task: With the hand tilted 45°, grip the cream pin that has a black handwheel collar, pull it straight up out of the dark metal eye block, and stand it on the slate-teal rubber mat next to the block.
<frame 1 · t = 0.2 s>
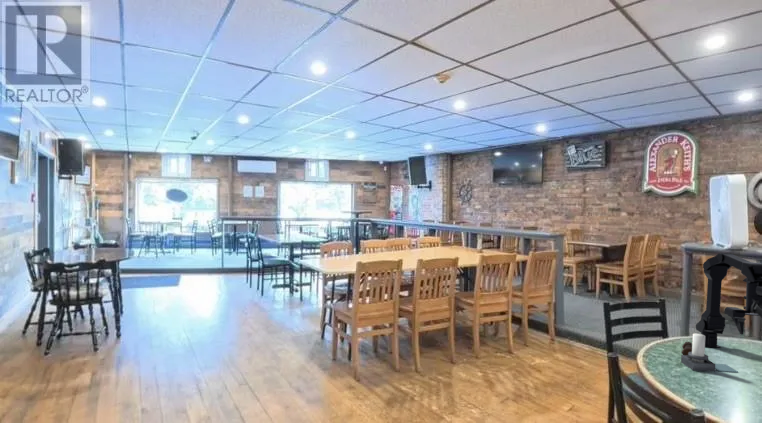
hand: (754, 335, 163), 14 cm above the table, tool pointing down, fingers open, 9 cm apart
eye block: (697, 366, 167), on the table
mat: (722, 368, 166), on the table
bolt: (689, 355, 181), on the table
pin: (697, 366, 168), resting in eye block
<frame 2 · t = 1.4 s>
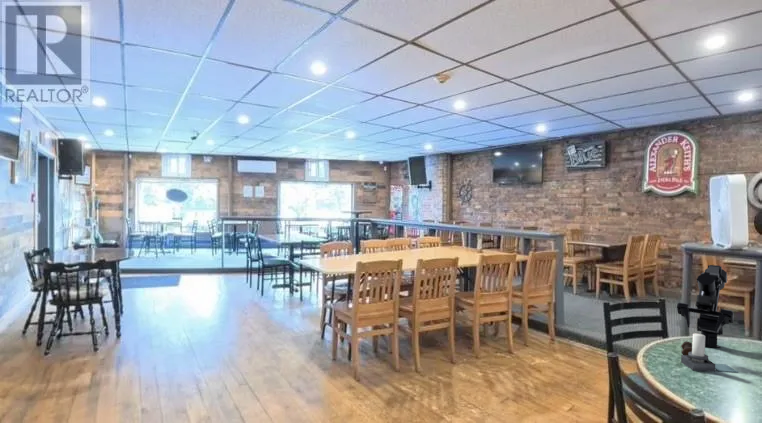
hand: (701, 329, 172), 13 cm above the table, tool tilted 45°, fingers open, 9 cm apart
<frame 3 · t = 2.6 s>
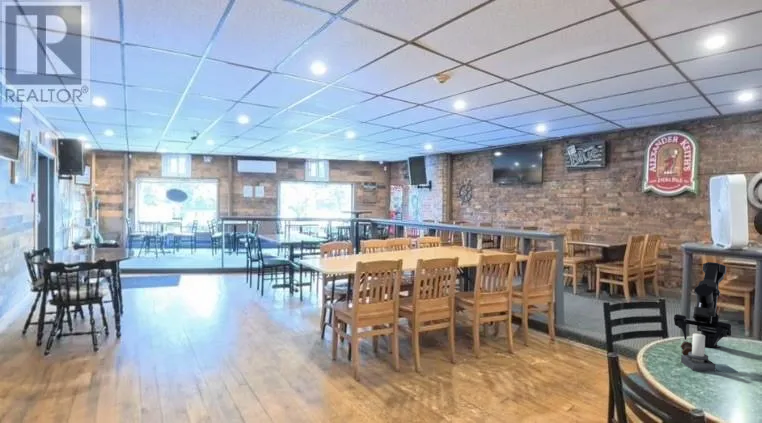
hand: (699, 342, 168), 10 cm above the table, tool tilted 45°, fingers open, 9 cm apart
nothing on the table moved.
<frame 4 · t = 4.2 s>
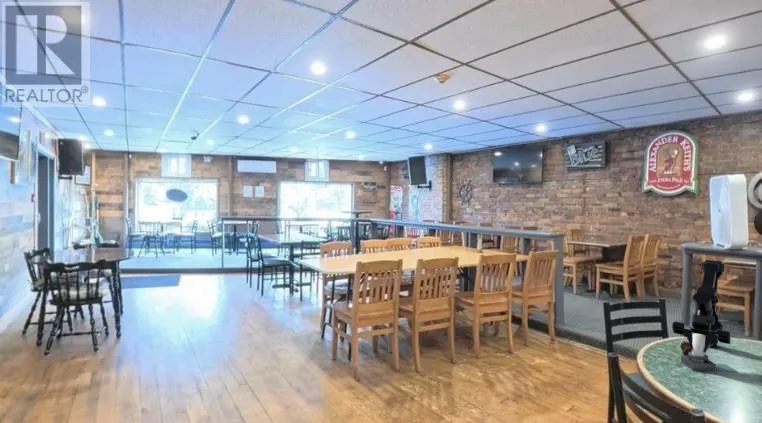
hand: (697, 350, 166), 7 cm above the table, tool tilted 45°, fingers closed on pin, 4 cm apart
pin: (697, 366, 167), resting in eye block, touching gripper
everything else where it was.
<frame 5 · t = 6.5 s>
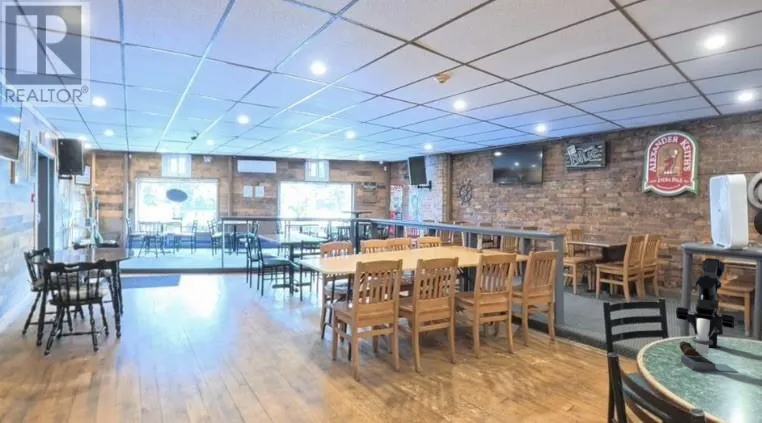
hand: (702, 335, 166), 13 cm above the table, tool tilted 45°, fingers closed on pin, 4 cm apart
pin: (702, 351, 167), point 6 cm above the table, touching gripper
when the fingers open (8 cm above the table, at t = 8.8 s): pin stays where it is, resting on mat.
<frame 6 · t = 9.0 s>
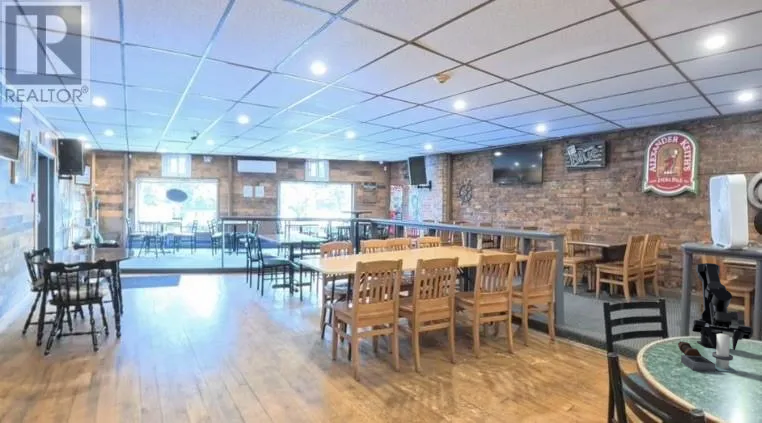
hand: (723, 348, 165), 9 cm above the table, tool tilted 45°, fingers open, 6 cm apart
pin: (722, 367, 166), resting on mat
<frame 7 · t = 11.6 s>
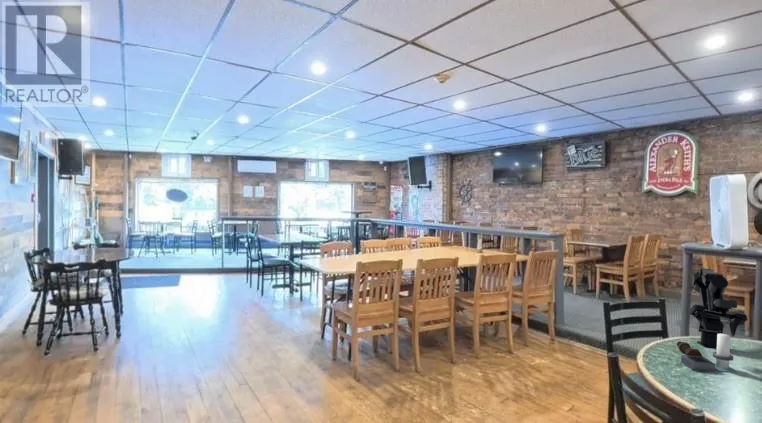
hand: (719, 333, 173), 12 cm above the table, tool tilted 40°, fingers open, 9 cm apart
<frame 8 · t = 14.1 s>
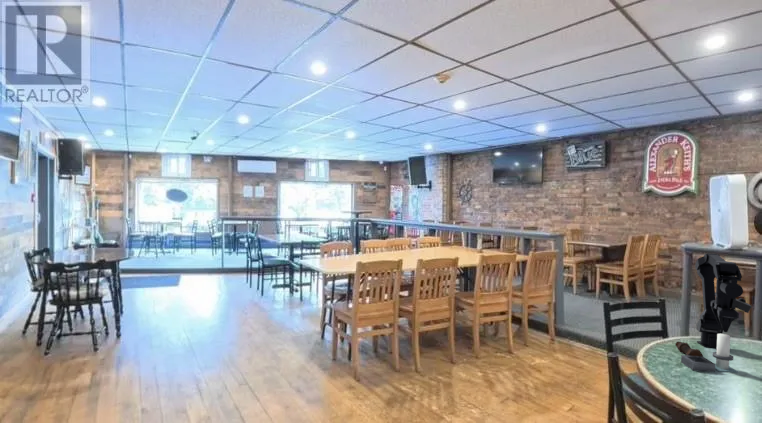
hand: (723, 328, 175), 13 cm above the table, tool pointing down, fingers open, 9 cm apart
at the end: pin 0.1 cm off-centre on the mat, point 0.4 cm above the mat's base; pin tilted 0°; the gripper is holding nothing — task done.
